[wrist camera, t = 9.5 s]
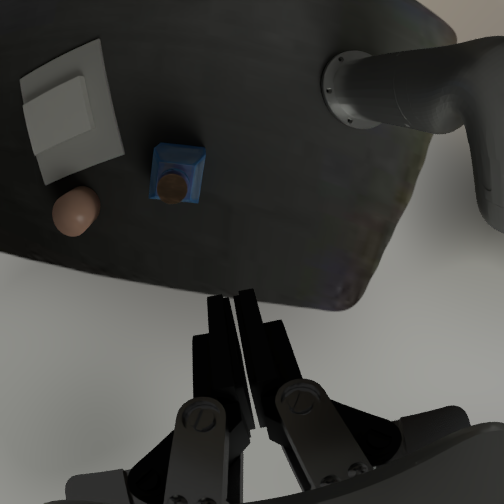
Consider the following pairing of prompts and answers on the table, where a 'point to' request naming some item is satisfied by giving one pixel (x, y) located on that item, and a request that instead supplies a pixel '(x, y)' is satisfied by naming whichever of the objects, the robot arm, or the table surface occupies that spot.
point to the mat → (106, 128)
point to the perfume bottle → (177, 173)
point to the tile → (58, 115)
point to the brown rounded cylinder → (76, 210)
